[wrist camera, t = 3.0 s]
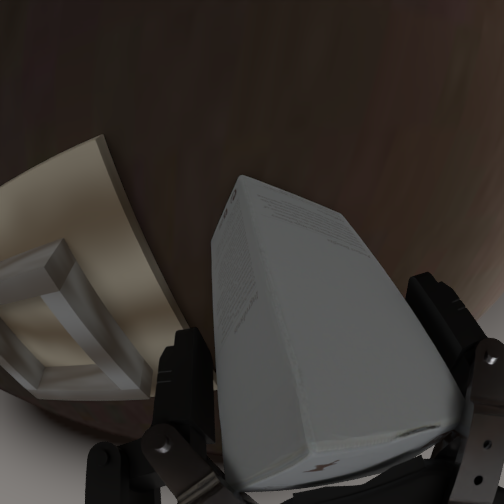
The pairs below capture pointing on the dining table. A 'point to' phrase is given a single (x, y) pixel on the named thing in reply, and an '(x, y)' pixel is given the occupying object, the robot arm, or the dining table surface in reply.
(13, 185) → the square frame tray
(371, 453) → the skincare box
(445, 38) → the dining table surface
